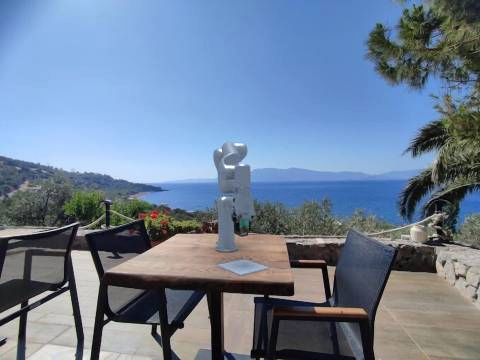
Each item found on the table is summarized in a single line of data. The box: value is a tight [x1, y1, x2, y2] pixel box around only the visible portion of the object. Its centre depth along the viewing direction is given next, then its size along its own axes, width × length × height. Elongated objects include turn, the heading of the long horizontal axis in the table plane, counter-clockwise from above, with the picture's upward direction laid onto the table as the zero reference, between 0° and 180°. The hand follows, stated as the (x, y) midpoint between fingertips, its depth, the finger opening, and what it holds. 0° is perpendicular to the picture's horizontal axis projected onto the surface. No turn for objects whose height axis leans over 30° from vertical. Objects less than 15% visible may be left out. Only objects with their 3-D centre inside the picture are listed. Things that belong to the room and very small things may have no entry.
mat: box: [216, 259, 270, 277], centre depth 127 cm, size 18×16×1 cm
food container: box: [234, 213, 251, 238], centre depth 128 cm, size 12×6×10 cm, turn 21°
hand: (242, 230), depth 128 cm, fingers closed on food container, 5 cm apart
